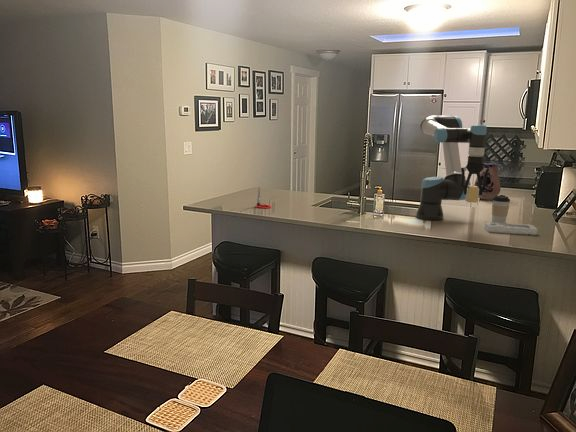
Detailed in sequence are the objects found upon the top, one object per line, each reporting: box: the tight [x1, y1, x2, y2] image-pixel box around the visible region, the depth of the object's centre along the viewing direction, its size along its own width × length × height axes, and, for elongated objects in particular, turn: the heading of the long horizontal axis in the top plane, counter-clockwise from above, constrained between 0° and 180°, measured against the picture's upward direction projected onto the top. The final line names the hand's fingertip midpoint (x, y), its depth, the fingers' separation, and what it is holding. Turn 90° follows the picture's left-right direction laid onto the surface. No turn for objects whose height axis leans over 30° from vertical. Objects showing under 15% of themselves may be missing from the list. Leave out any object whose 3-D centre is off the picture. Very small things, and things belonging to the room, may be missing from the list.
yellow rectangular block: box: [466, 185, 478, 204], centre depth 248 cm, size 4×4×8 cm
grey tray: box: [484, 221, 538, 236], centre depth 249 cm, size 23×10×3 cm, turn 78°
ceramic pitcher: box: [473, 162, 501, 201], centre depth 340 cm, size 18×21×25 cm
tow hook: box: [254, 186, 272, 210], centre depth 297 cm, size 8×13×9 cm
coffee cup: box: [491, 194, 511, 223], centre depth 267 cm, size 9×9×15 cm
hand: (471, 200), depth 249 cm, fingers closed on yellow rectangular block, 4 cm apart
